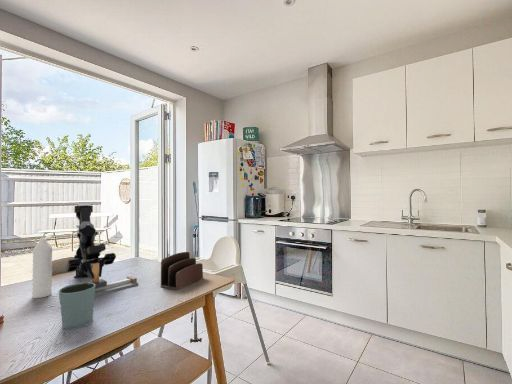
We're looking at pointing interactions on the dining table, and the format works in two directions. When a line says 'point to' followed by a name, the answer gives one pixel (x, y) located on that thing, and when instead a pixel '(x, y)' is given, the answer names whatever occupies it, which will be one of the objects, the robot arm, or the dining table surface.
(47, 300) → the dining table surface
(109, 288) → the rail
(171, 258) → the letter holder
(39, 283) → the water bottle
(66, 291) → the green planter pot
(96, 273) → the carriage
